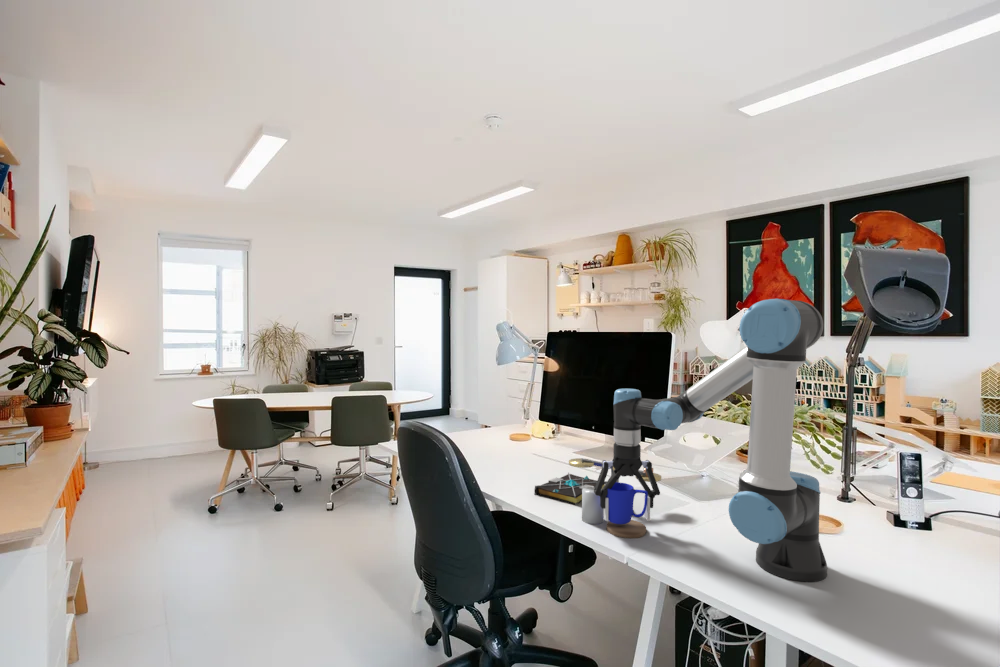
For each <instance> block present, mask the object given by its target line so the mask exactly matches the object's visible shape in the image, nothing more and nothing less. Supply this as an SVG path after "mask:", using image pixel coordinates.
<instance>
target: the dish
mask: <svg viewBox="0 0 1000 667" xmlns="http://www.w3.org/2000/svg"><path fill="white" fill-rule="evenodd" d="M606 531H607V532H608V533H609V534H610V535H612V536H614V537H618V538H624V539H638V538H643V537H644V536H646V535H647V526H646V525H645V524H644V523H643V522H640V521H636V520H634V519H631V521H630V522H629V523H627V524H615V523H612V522H610V521H609V520H608V521H607V522H606Z"/></svg>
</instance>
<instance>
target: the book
mask: <svg viewBox="0 0 1000 667" xmlns="http://www.w3.org/2000/svg"><path fill="white" fill-rule="evenodd" d="M597 480H598V479H596V480H595V479H591V478H589V477H588V475H586V476H584V477H583V476H579V475H576V474H572V473H570V472H567V474H565V475H563V476H561V477H553V478H551V479H548V482H545V483H543V484H540V485H537V484H536V485H534V493H533V494H534V496H541V497H546V498H550V499H554V500H556V501H557V500H558V501H562V502H564V503H568V504H570V505H571V504H572V505H575V506H577V505H579V504H580V503H582V489H583V488H586V487H595V486H596V483H597ZM607 481H608V480H606V481H604V484H603V486H602V488H603V487H604V486H605V484H606V483H607Z"/></svg>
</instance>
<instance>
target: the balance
mask: <svg viewBox="0 0 1000 667" xmlns="http://www.w3.org/2000/svg"><path fill="white" fill-rule="evenodd" d="M568 465H569V466H571V467H574V468H579V469H580V468H583V469H584V468H591V467H594V466H595V467H600V468H602V461H596V460H593V459H589V458H580V457H579V458H571V459H569V460H568ZM609 470H610V476H611V475H612V473H613V471H614V470H615V468H614V467H613V466H611V467H610V469H609ZM638 471H639V473H640V474H641V476H642V478H643V479H644V481H645V482H646V483H647V482H648V483H650V480H649V478H648V475H647V472H646V469H645V468H644V467H643V470H641V469H639V470H638ZM652 472H653V474H654V477H655V480H656V483H657V482H660V481H662V475H660V474H659V473H655V472H654V467H652ZM634 476H635V475H634ZM634 478H635V479H636V480H638V479H637V478H636V476H635V477H634ZM616 482H619V483H620V478H619V479H617V481H616ZM633 513H634V514H635V510H634V509H633Z"/></svg>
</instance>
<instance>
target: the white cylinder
mask: <svg viewBox="0 0 1000 667" xmlns="http://www.w3.org/2000/svg"><path fill="white" fill-rule="evenodd" d="M594 488H595V487H586V488H583V489H582V501H581V521H582V522H583V523H586V524H588V525H599V524H602V523H604V509H602V508H601V506H600V496H597V495H596V494H595V493H594ZM601 490H602V489H601Z"/></svg>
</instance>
